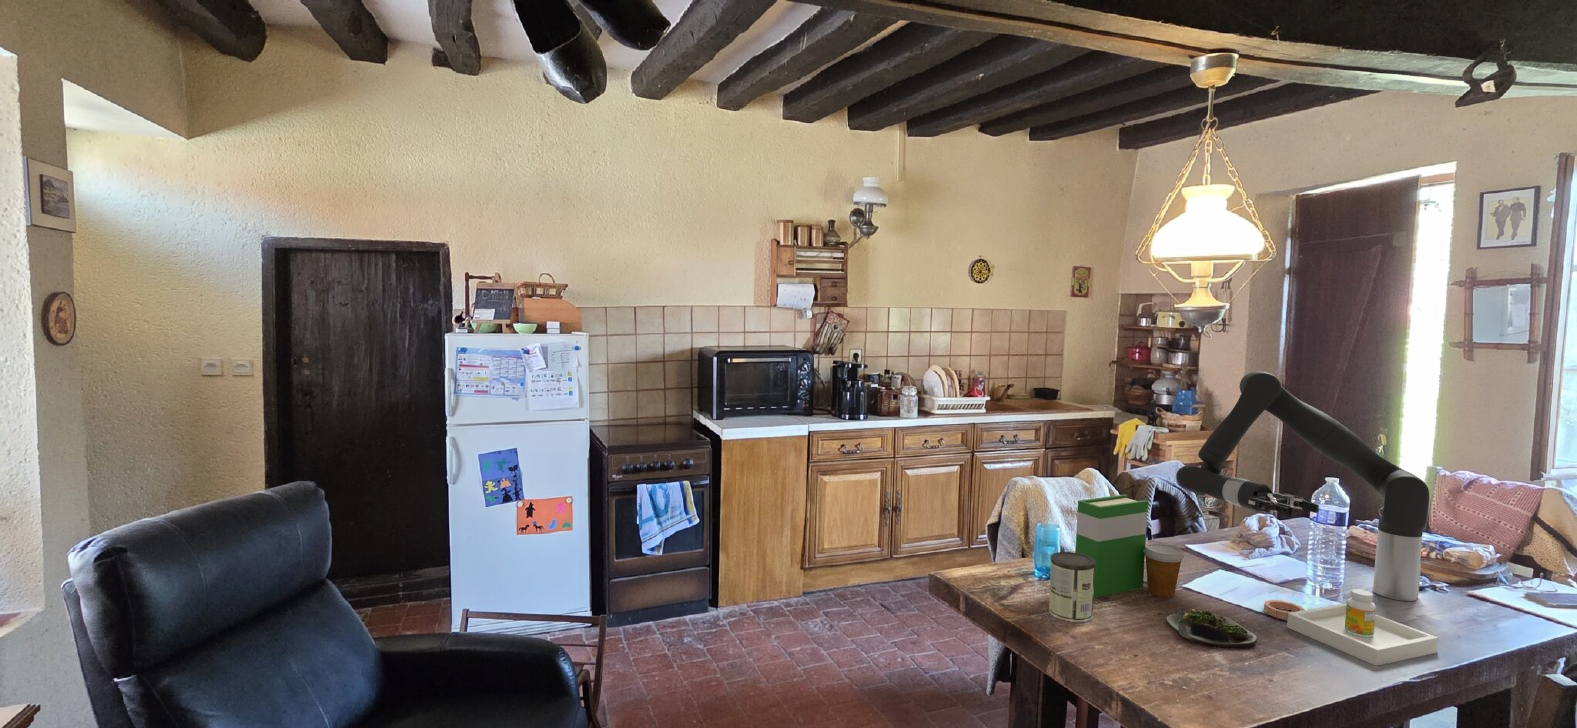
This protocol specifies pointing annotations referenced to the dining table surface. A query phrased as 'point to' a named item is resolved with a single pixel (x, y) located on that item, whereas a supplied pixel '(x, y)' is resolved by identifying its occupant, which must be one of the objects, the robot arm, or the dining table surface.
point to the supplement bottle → (1360, 614)
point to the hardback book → (1113, 541)
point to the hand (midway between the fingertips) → (1305, 509)
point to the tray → (1379, 649)
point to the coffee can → (1071, 587)
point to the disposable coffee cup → (1162, 568)
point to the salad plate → (1211, 629)
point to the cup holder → (1273, 604)
